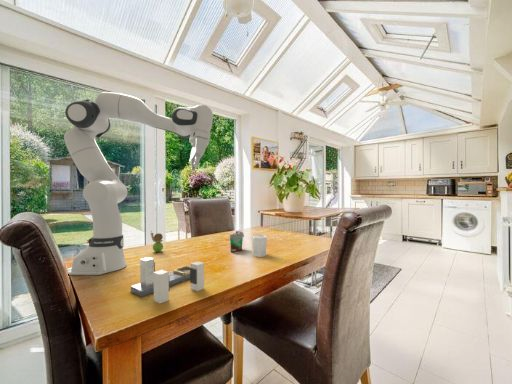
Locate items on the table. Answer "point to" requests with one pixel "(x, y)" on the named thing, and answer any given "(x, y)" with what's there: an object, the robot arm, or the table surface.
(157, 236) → the snail figurine
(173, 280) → the rail
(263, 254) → the white cup
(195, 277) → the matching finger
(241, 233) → the food container
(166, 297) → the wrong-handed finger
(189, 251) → the table surface
